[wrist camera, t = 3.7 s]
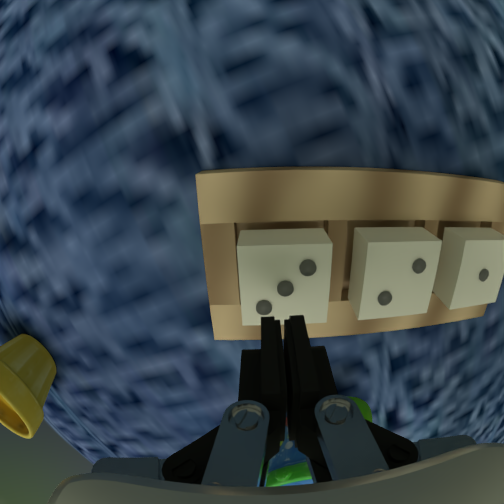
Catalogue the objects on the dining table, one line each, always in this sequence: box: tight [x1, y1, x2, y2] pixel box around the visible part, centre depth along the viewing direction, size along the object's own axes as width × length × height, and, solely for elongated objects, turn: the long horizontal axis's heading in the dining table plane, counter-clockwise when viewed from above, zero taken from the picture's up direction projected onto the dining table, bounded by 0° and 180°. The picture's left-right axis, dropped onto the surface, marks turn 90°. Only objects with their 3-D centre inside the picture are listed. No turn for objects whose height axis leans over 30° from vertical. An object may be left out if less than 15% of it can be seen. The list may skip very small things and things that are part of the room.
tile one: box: [433, 227, 504, 310], centre depth 17 cm, size 5×5×3 cm
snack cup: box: [265, 397, 372, 487], centre depth 23 cm, size 16×10×10 cm
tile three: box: [237, 228, 333, 326], centre depth 17 cm, size 5×5×3 cm
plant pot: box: [0, 334, 56, 438], centre depth 22 cm, size 10×10×10 cm
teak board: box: [196, 167, 504, 340], centre depth 20 cm, size 24×12×2 cm, turn 93°
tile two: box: [348, 227, 442, 320], centre depth 17 cm, size 5×5×3 cm
